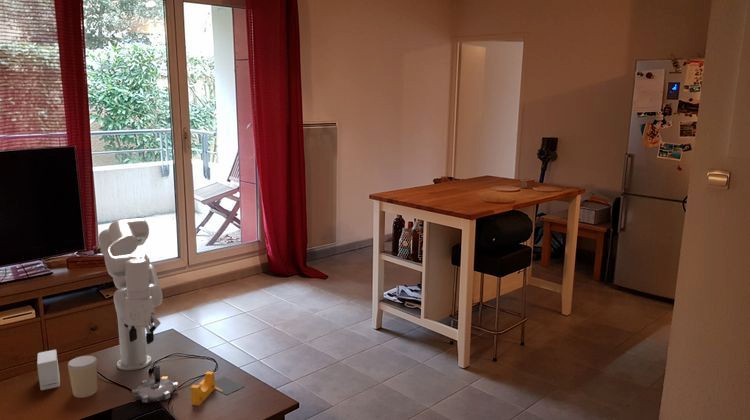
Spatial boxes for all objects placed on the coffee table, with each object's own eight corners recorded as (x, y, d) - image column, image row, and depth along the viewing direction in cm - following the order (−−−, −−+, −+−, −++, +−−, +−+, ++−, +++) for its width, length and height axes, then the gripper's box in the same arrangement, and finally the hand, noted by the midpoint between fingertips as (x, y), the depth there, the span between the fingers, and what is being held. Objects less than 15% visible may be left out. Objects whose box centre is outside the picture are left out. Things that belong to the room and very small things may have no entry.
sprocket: (125, 392, 205) (124, 374, 204) (162, 377, 216) (161, 360, 215) (148, 406, 196) (147, 387, 194) (185, 390, 207) (184, 372, 205)
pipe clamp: (204, 387, 212) (202, 370, 211) (215, 388, 211) (214, 371, 210) (187, 404, 200) (185, 387, 199) (199, 405, 199) (197, 388, 198)
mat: (206, 384, 214) (206, 384, 214) (224, 376, 220) (224, 376, 220) (226, 395, 207) (226, 394, 206) (244, 386, 213) (244, 386, 213)
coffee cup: (105, 388, 210) (102, 357, 208) (85, 400, 202) (82, 368, 199) (85, 384, 213) (82, 353, 211) (64, 396, 205) (61, 364, 202)
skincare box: (39, 378, 217) (37, 352, 215) (59, 374, 220) (57, 348, 218) (39, 390, 208) (36, 363, 206) (59, 386, 211) (57, 359, 209)
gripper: (110, 294, 204) (114, 343, 207) (153, 299, 200) (156, 348, 203) (124, 288, 211) (127, 334, 214) (166, 292, 207) (169, 340, 210)
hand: (141, 341), depth 209 cm, fingers open, 6 cm apart
